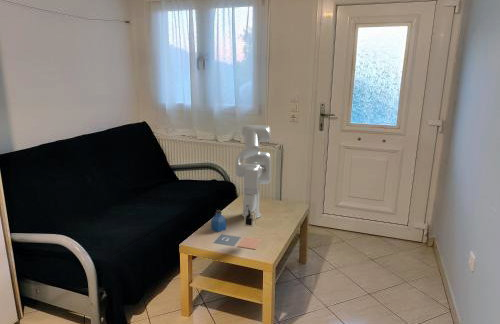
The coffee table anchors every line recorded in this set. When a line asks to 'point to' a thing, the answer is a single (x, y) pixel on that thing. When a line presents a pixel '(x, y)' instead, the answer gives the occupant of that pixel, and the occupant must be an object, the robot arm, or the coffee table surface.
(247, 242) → the pad
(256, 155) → the robot arm
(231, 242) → the gray tile
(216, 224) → the perfume bottle
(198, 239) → the coffee table surface
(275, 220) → the coffee table surface
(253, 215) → the maple block
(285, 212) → the coffee table surface
